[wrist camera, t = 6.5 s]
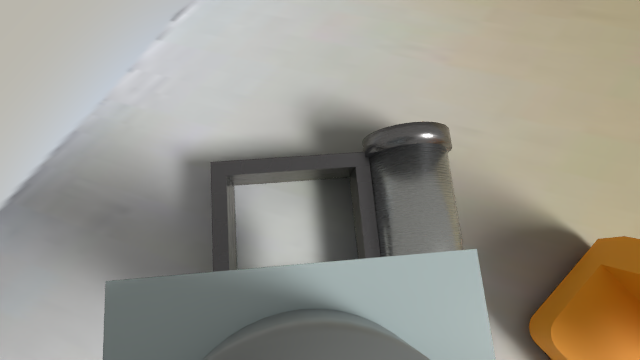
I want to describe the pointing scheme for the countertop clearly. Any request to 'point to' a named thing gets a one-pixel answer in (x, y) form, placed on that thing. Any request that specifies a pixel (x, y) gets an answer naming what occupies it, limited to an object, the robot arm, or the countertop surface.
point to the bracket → (594, 306)
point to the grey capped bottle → (306, 312)
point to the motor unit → (361, 192)
